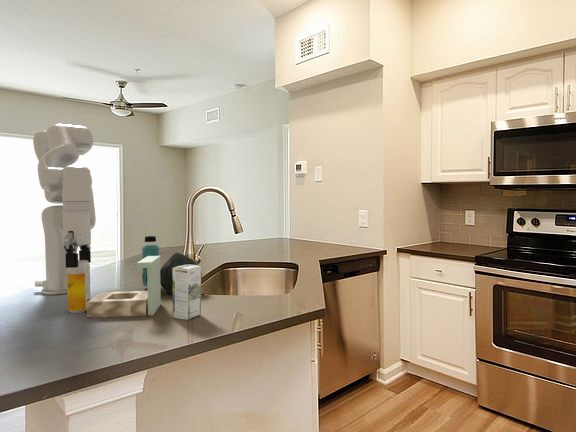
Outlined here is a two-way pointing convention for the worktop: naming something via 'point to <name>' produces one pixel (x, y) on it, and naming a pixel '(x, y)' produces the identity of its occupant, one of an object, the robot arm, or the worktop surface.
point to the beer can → (78, 287)
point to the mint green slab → (152, 281)
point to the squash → (167, 270)
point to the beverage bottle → (149, 254)
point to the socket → (118, 304)
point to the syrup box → (186, 291)
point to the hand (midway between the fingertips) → (78, 265)
